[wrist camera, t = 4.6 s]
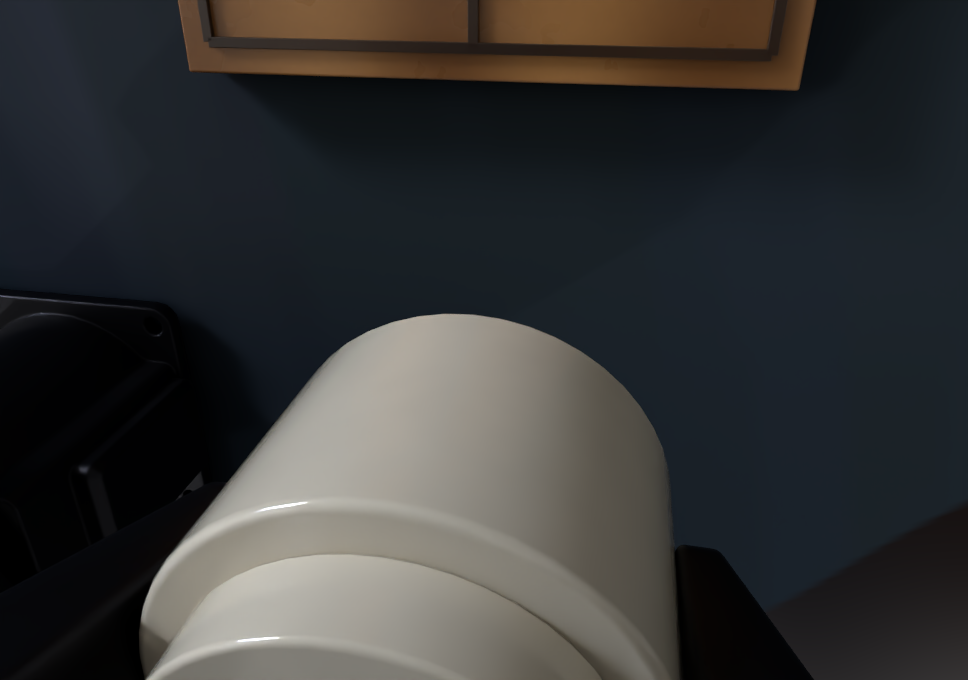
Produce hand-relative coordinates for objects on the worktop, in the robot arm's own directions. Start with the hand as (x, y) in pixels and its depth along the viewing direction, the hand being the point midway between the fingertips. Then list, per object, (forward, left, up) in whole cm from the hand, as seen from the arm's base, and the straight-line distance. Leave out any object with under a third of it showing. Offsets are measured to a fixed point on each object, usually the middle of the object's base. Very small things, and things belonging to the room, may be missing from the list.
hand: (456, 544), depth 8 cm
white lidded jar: (0, 0, -1) cm, 1 cm away
